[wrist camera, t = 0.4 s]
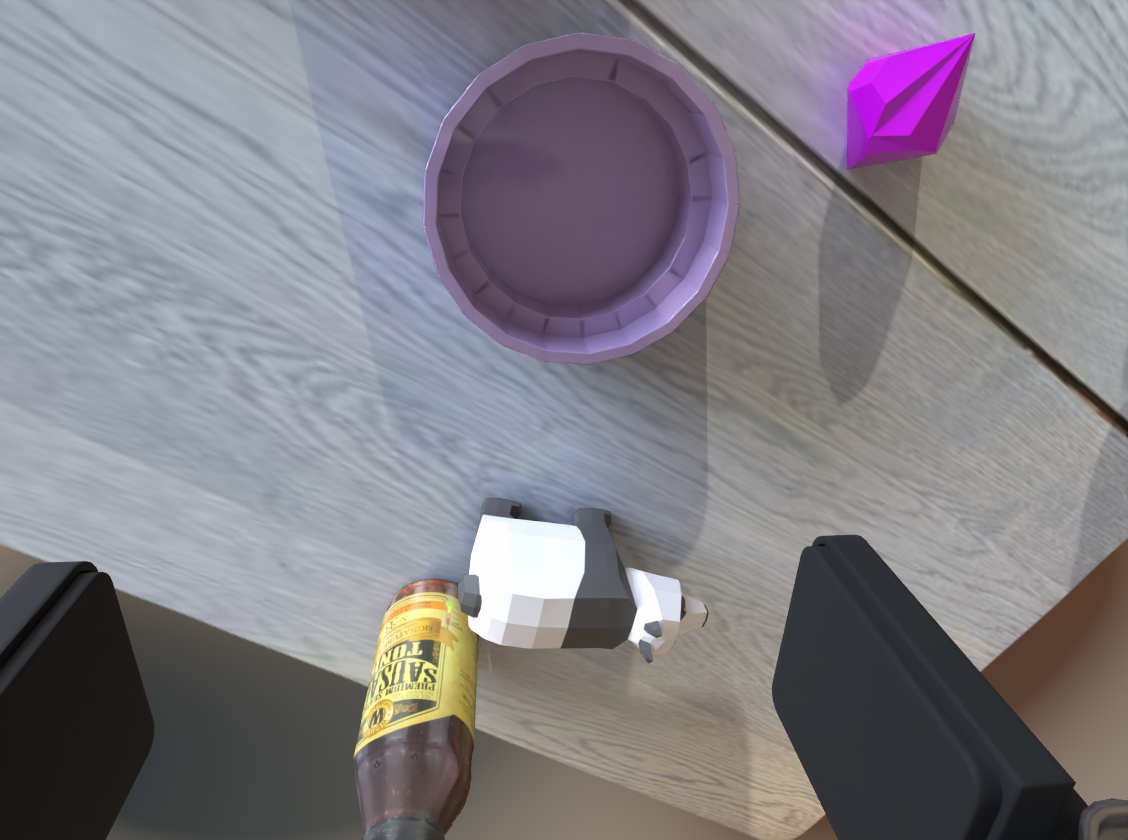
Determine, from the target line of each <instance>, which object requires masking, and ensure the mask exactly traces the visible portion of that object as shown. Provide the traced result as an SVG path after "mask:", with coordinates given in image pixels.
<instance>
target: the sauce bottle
mask: <svg viewBox="0 0 1128 840" xmlns="http://www.w3.org/2000/svg"><path fill="white" fill-rule="evenodd" d="M478 638H479V635H478V634H477V633H476V632H474V631H473V630H471V629H470V627H469V621H468V615H467V614H465V613H463V612H461V609H460V605H459V599H458V584H456V583H454V582H451V581H447V580H440V579H429V580H421V581H417V582H413V583H411V584H410V585H407V586H405V587H403V588H402V589H401V590H400V591H399V592H398V593H397V594H396V596H395V598H394V599H393V600H392V601H391V604H390V606H389V607H388V609H387V611H386V614H385V616H384V618H383V622H382V626H381V631H380V635H379V640H378V644H377V649H376V654H375V659H374V663H373V668H372V673H371V678H370V682H369V687H368V692H367V696H366V701H365V706H364V710H363V715H362V720H361V726H360V730H359V735H358V740H357V744H356V749H355V754H354V759H353V763H354V769H355V777H356V784H357V791H358V798H359V806H360V813H361V819H362V827H363V840H445V839H444V835H445V834H446V833H447V831H448V830H449V828H450V827H451V826H452V823H453V821H454V820H455V819H456V817H457V816H458V815H459V814H460V812H461V810H462V808H463V807H464V805H465V803H466V799H467V796H468V793H469V788H470V782H471V781H470V780H471V759H472V753H473V749H474V734H475V709H476V684H477V662H478Z"/></svg>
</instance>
